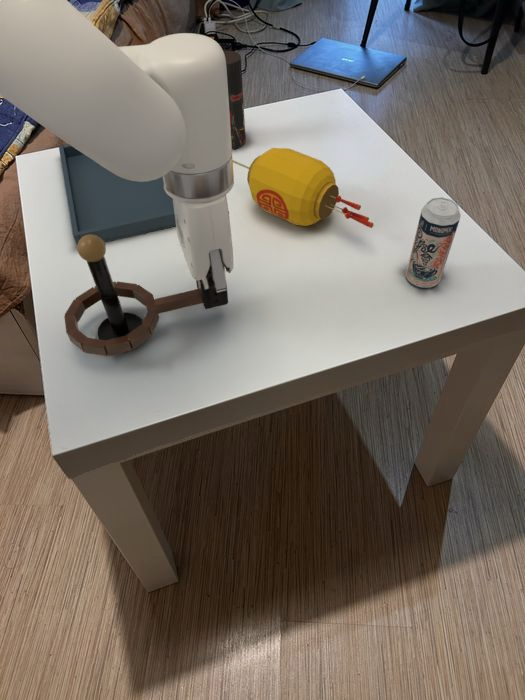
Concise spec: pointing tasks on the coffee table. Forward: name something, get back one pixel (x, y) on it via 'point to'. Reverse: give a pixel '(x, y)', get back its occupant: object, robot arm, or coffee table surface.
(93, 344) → the brown ring with handle
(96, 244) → the black post with ball
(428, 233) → the beer can
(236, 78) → the deodorant
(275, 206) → the lantern
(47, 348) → the coffee table surface
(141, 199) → the tray
